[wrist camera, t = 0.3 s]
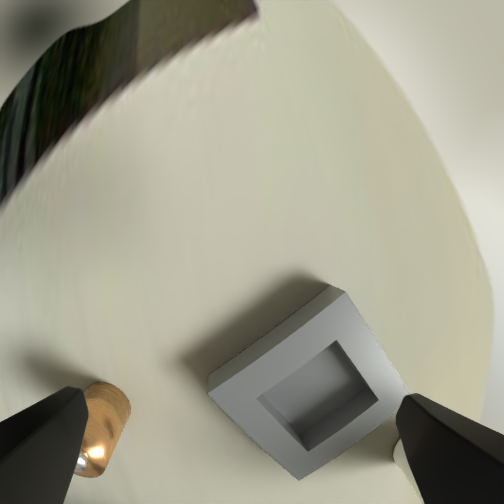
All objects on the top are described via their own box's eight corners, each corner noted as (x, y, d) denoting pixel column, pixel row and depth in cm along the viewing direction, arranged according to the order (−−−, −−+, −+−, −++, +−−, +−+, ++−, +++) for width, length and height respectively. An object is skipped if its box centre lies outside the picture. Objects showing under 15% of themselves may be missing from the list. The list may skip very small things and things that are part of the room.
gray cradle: (291, 459, 23) (298, 480, 20) (208, 375, 22) (206, 393, 19) (395, 383, 24) (412, 397, 21) (330, 284, 23) (345, 291, 20)
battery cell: (108, 431, 22) (78, 490, 14) (75, 395, 21) (33, 447, 13) (140, 411, 22) (115, 474, 14) (106, 373, 22) (66, 426, 14)
